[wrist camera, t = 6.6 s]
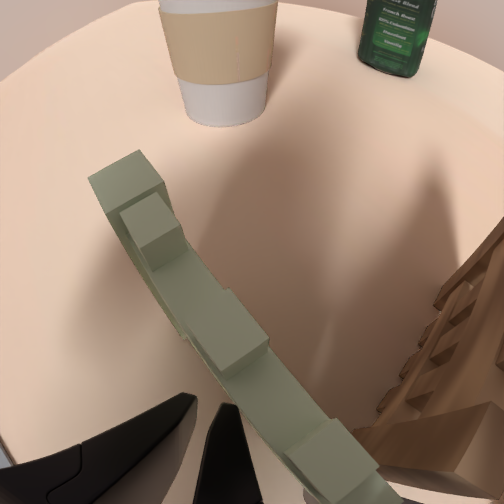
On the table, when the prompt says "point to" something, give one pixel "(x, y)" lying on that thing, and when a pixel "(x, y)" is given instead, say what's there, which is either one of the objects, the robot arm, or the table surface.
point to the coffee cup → (220, 56)
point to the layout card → (4, 458)
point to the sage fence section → (234, 343)
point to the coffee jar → (396, 34)
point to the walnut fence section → (451, 390)
